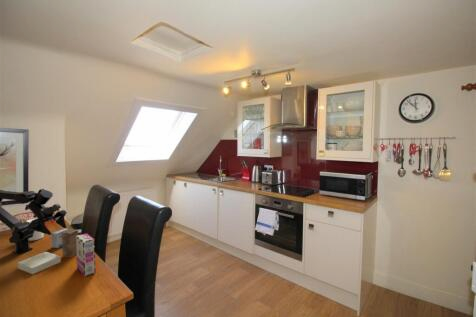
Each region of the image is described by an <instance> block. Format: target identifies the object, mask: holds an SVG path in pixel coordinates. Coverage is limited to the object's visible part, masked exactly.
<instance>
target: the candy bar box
mask: <svg viewBox="0 0 476 317" xmlns="http://www.w3.org/2000/svg"><path fill="white" fill-rule="evenodd" d="M95 245H96V243H95V238H93V237H92V236H91V235H89V234H88V233H82V234H78V236H76V249H77V254H76V264H77V265H76V267H77V268H76V269H77V270H78V271H79V272H80V274H82V276H83V277H88V276H91V275H93V274H95V273H96V248H95V247H96V246H95Z"/></svg>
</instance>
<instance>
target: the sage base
mask: <svg viewBox="0 0 476 317" xmlns="http://www.w3.org/2000/svg"><path fill="white" fill-rule="evenodd" d="M61 261H62V260H61V255H58V254H55V253H52V252H51V253H50V252H48V251H44V252H42V253H39V254H36V255H33V256H31V257H29V258H25V259H23V260H20V261H18V262H17V269H19V270H21V271H24V272H26V273H29V274H31V275H34V274H37V273H39V272H41V271H43V270H45V269H48V268H51V267H53V266H54V265H56V264H60V263H61Z"/></svg>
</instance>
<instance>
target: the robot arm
mask: <svg viewBox="0 0 476 317" xmlns="http://www.w3.org/2000/svg"><path fill="white" fill-rule="evenodd" d="M53 194H54V193H53V192H52V191H50V190H47V189H45V188H41V189H39V190H38V191H37V192H36V191H33V190H28V191H11V190H3V189H0V222H1V223H2V224H4V225H5V226H6V227H8V228H9V229H10V230H11V231H10V232H11V236H10V237H9V239H8V241H9V243H10V244H14V249H13V250H12V251H11V252H12V253H15V254H17V255H19V254H22V253H25V252H28V251H31V250H33V247H30V242H29V238H31V237H33V234H34V231H38V232H42V233H43V234H44V235H49V236H51V233H52V232H51V230H49V228H48V226H46V225H45V223H47V222H50V221H52V220H53V221H55V223H56V224H57V225H59V226H60V227H62V229H67V224H66V221H65V217H66V215H67V214H68V212H67V211H66V210H65V209H62V210H60V209H61V207H62V206H61V205H60V204H59V203H55V204H53V205H52V206H45V205H46V204H47V203H48V202H49V201H50V200H51V199H52V198H53V197H54V196H53ZM3 200H9V201H15V202H16V203H18V204H21V205H23V204H25V207H24V210H25V211H27V210H29V211H30V212H32V214H33V216H32V217H33V219H34V218H38V219H35V220H32V221H31V222H30V223H29V222H27V220H26V221H23V222H21V221H20V220H19V219H18V218H16V217H15V216H14V215H12V214H11V213H10V212H9V211H8V210H6V209H5V208H3V207H2V206H3V205H2V202H3Z"/></svg>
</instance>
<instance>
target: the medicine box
mask: <svg viewBox="0 0 476 317" xmlns="http://www.w3.org/2000/svg"><path fill="white" fill-rule="evenodd" d="M69 229H70V228H62V229H59V230H56V231H54V232H51V235H50V238H51V248H53V249H60V248H62V233H63V232H65V231H67V230H69Z"/></svg>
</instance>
